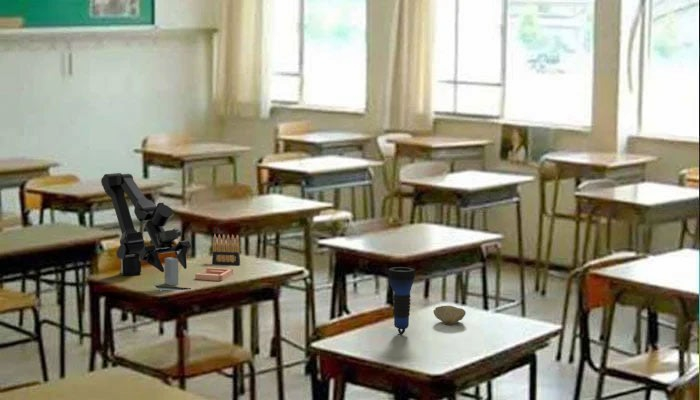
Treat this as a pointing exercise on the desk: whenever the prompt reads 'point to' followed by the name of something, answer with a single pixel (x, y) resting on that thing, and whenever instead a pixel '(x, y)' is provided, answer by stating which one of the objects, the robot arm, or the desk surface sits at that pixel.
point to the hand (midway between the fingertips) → (174, 269)
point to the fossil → (449, 314)
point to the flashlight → (401, 295)
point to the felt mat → (170, 288)
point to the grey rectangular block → (171, 271)
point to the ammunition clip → (225, 251)
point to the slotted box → (215, 274)
